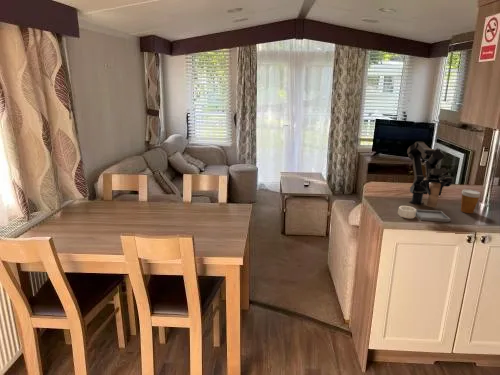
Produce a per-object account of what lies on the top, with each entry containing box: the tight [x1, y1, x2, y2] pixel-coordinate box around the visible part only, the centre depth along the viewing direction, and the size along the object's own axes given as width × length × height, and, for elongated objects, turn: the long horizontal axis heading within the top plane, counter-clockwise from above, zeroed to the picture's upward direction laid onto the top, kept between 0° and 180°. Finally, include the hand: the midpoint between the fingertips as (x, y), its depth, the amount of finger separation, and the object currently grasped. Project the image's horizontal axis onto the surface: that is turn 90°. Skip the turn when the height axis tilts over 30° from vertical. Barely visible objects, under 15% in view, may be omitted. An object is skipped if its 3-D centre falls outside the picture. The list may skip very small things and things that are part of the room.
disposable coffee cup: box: [460, 188, 481, 214], centre depth 212 cm, size 10×10×12 cm
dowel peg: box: [426, 182, 441, 208], centre depth 199 cm, size 5×5×12 cm
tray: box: [415, 208, 451, 223], centre depth 203 cm, size 12×15×2 cm
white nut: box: [397, 205, 418, 219], centre depth 203 cm, size 8×8×4 cm
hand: (434, 195), depth 198 cm, fingers closed on dowel peg, 5 cm apart
